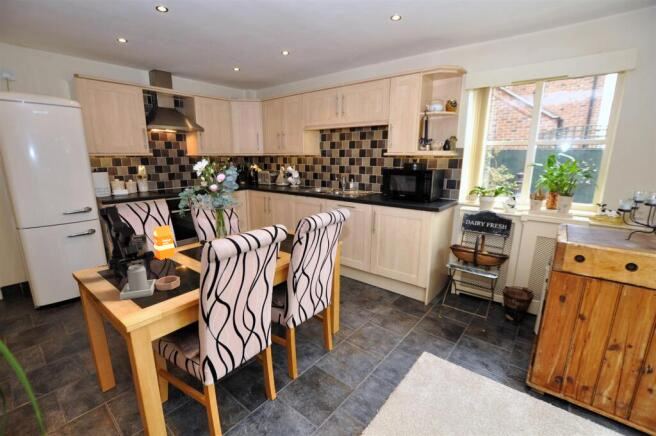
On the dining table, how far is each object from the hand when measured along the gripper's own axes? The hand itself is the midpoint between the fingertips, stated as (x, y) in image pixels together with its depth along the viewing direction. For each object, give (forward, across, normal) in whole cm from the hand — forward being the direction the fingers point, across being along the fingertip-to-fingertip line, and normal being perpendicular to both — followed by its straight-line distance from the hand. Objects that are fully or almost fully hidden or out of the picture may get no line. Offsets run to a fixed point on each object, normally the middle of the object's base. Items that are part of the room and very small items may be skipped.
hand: (137, 275), depth 143 cm
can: (+5, 0, +6) cm, 8 cm away
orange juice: (-25, +27, +39) cm, 54 cm away
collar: (+8, +12, +5) cm, 15 cm away
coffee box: (-28, +14, +41) cm, 51 cm away
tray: (+6, 0, +7) cm, 9 cm away
